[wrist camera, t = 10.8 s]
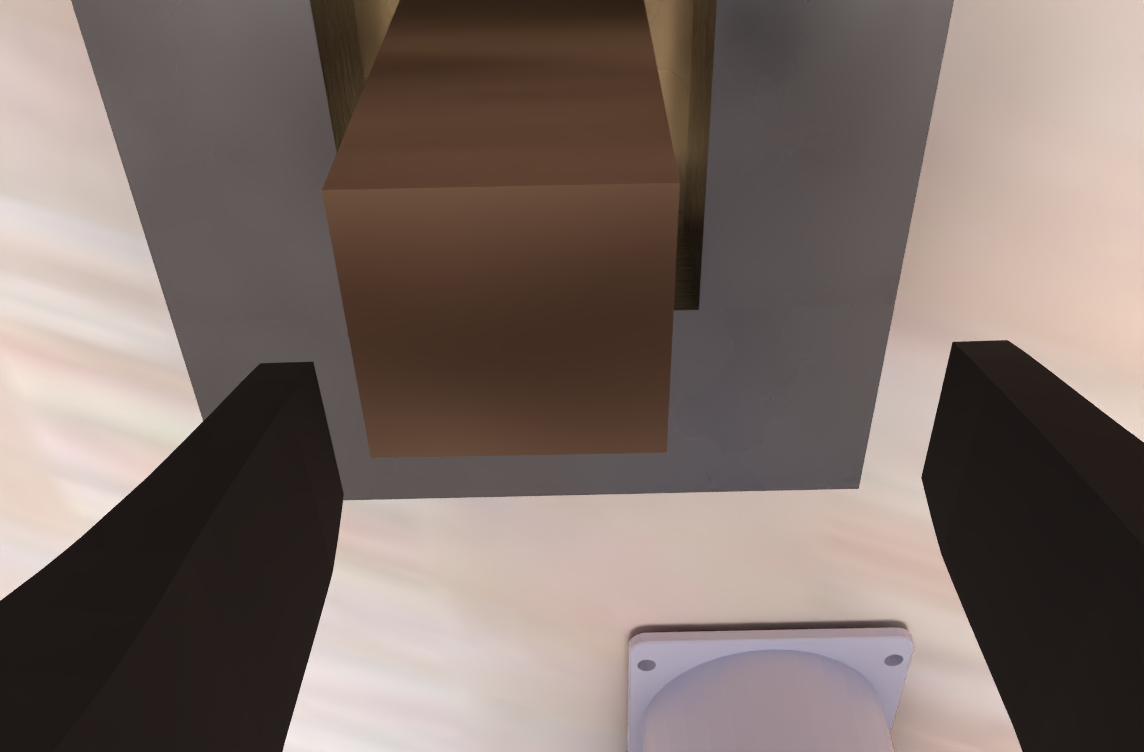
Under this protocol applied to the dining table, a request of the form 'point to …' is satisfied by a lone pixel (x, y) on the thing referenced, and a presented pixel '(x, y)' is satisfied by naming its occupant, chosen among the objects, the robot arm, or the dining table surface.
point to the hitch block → (704, 239)
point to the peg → (509, 231)
